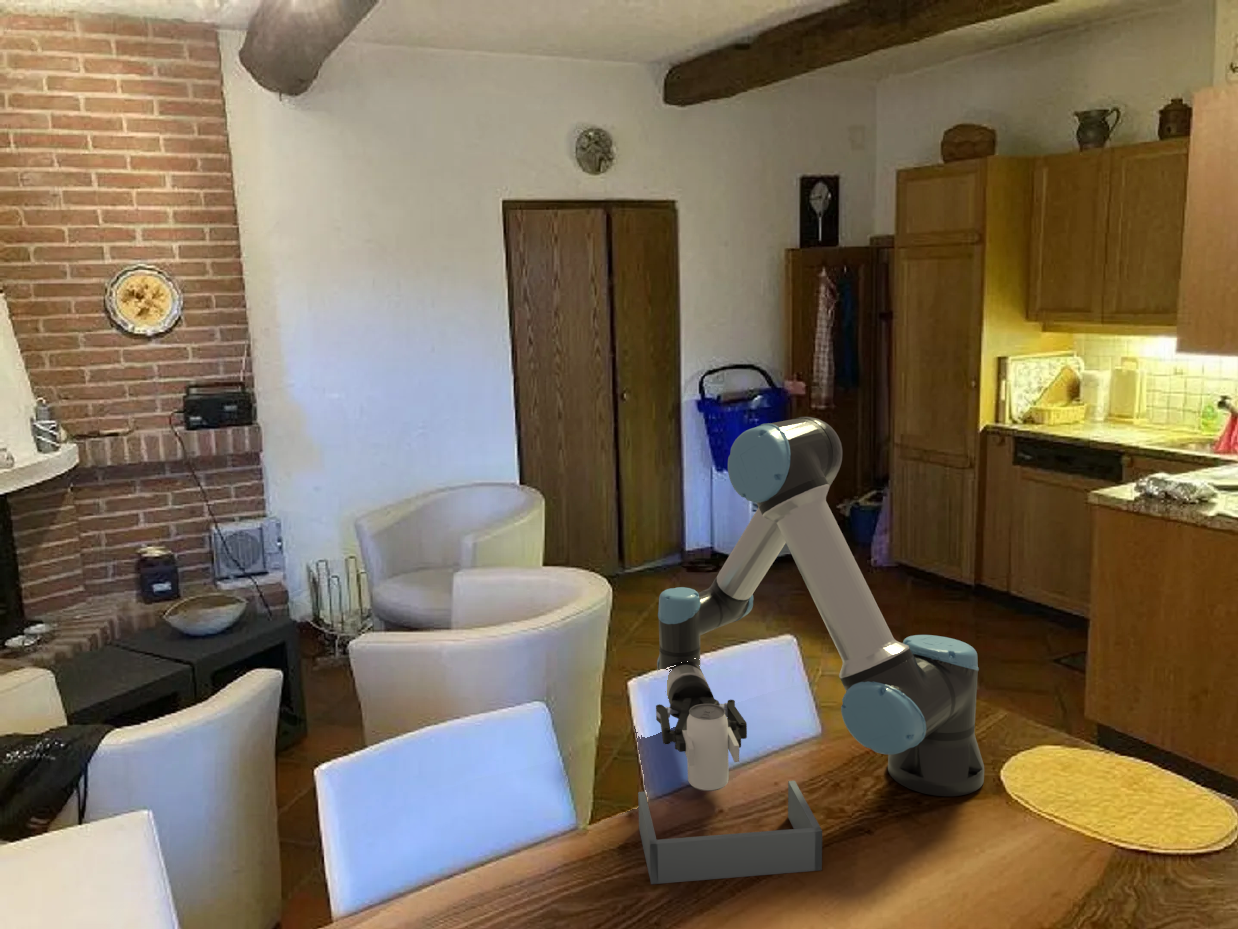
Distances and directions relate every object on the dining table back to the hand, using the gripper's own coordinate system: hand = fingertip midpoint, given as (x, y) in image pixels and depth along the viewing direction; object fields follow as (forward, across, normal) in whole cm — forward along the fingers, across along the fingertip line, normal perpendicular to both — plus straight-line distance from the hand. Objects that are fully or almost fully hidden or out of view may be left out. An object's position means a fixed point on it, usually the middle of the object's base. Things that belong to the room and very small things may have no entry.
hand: (714, 755), depth 149 cm
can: (-5, 0, -7) cm, 9 cm away
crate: (+9, 0, -10) cm, 13 cm away
